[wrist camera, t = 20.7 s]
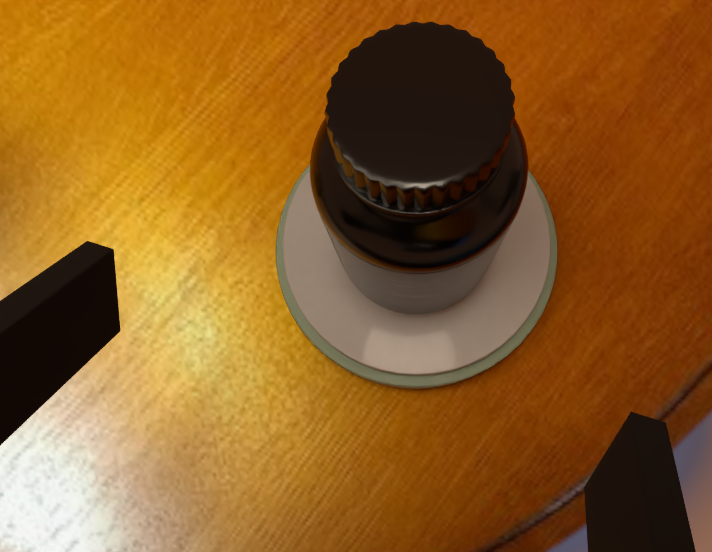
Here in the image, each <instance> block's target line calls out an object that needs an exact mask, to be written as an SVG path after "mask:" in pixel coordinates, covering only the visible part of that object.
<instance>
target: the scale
mask: <svg viewBox="0 0 712 552" xmlns="http://www.w3.org/2000/svg"><path fill="white" fill-rule="evenodd" d="M276 266H277V272H278V278H279V283H280V286H281V290H282V293H283V296H284V299H285V301H286V304H287V306H288V308H289V310H290V312H291V314H292V316H293V318H294V319H295V321H296V322H297V324H298V326H299V327H300V329H301V330H302V331H303V333H304V334H305V335H306V336H307V337H308V339H309V340H310V341H311V342H312V343H313V344H314V345H315V346H316V347H317V348H318V349H319V350H320V351H321V352H322V353H324V354H325V355H326V356H327V357H328V358H330V359H331V360H333V361H334V362H335V363H337V364H338V365H340V366H341V367H343V368H344V369H346V370H347V371H349V372H351V373H353V374H355V375H357V376H359V377H361V378H364V379H366V380H369V381H372V382H375V383H378V384H382V385H387V386H392V387H396V388H409V389H423V388H435V387H440V386H445V385H450V384H454V383H457V382H460V381H462V380H465V379H468V378H471V377H473V376H475V375H477V374H479V373H481V372H483V371H485V370H487V369H489V368H491V367H492V366H494V365H495V364H496V363H498V362H499V361H501V360H502V359H504V358H505V357H507V356H508V355H509V354H510V353H511V352H512V351H513V350H514V349H515V348H517V347H518V346H519V345H520V344H521V343H522V341H523V340H524V339H525V338H526V337H527V335H528V334H529V333H530V332H531V331H532V329H533V328H534V326H535V325H536V323H537V321H538V320H539V318H540V317H541V315H542V313H543V311H544V309H545V307H546V304H547V302H548V300H549V297H550V295H551V291H552V287H553V284H554V280H555V275H556V267H557V237H556V230H555V224H554V221H553V217H552V214H551V210H550V207H549V205H548V203H547V200H546V198H545V196H544V194H543V191H542V190H541V188H540V186H539V185H538V183H537V182H536V180H535V178H534V177H533V175H532V174H531V173H530V172H529V170H528V179H527V185H526V190H525V193H524V197H523V200H522V203H521V206H520V208H519V211H518V213H517V215H516V217H515V219H514V221H513V223H512V225H511V227H510V228H509V230H508V232H507V234H506V236H505V238H504V240H503V242H502V244H501V246H500V247H499V249H498V251H497V253H496V255H495V257H494V259H493V261H492V263H491V265H490V266H489V268H488V270H487V272H486V274H485V275H484V277H483V278H482V280H481V281H480V283H479V284H478V285H477V286H476V288H475V289H474V290H473V291H472V292H471V293H470V294H469V295H467V296H466V297H465V298H464V299H462V300H461V301H459V302H458V303H456V304H454V305H452V306H451V307H448V308H446V309H444V310H441V311H437V312H433V313H428V314H403V313H398V312H394V311H391V310H388V309H385V308H383V307H381V306H379V305H377V304H375V303H374V302H372V301H371V300H369V299H368V298H367V297H365V296H364V295H363V294H362V293H361V292H360V291H359V290H358V289H357V288H356V287H355V285H354V284H353V283H352V282H351V280H350V279H349V277H348V275H347V273H346V271H345V270H344V268H343V266H342V264H341V262H340V259H339V257H338V255H337V253H336V250H335V248H334V246H333V244H332V241H331V239H330V237H329V235H328V233H327V230H326V228H325V226H324V224H323V221H322V219H321V217H320V214H319V212H318V209H317V207H316V204H315V200H314V197H313V193H312V188H311V182H310V165H309V166H308V167H307V168H306V169H305V171H304V172H303V173H302V175H301V176H300V178H299V179H298V180H297V182H296V183H295V185H294V187H293V189H292V191H291V193H290V194H289V196H288V198H287V201H286V203H285V206H284V209H283V211H282V214H281V218H280V222H279V227H278V231H277V241H276Z"/></svg>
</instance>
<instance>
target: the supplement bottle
mask: <svg viewBox="0 0 712 552" xmlns="http://www.w3.org/2000/svg"><path fill="white" fill-rule="evenodd" d="M326 98H327V103H328V104H327V106H326V109H325V116H326V117H325V119H324V121H323V122H322V124H321V126H320V128H319V131H318V133H317V135H316V138H315V141H314V144H313V148H312V153H311V160H310V182H311V188H312V193H313V197H314V200H315V204H316V207H317V209H318V212H319V214H320V217H321V219H322V221H323V224H324V226H325V228H326V230H327V233H328V235H329V237H330V239H331V241H332V244H333V246H334V248H335V250H336V253H337V255H338V257H339V259H340V262H341V264H342V266H343V268H344V270H345V271H346V273H347V275H348V277H349V279H350V280H351V282H352V283H353V284H354V285H355V287H356V288H357V289H358V290H359V291H360V292H361V293H362V294H363V295H364V296H365V297H367V298H368V299H369V300H371V301H372V302H374V303H375V304H377V305H379V306H381V307H383V308H385V309H388V310H391V311H394V312H398V313H403V314H428V313H433V312H437V311H441V310H444V309H446V308H448V307H451V306H452V305H454V304H456V303H458V302H459V301H461V300H462V299H464V298H465V297H466V296H467V295H469V294H470V293H471V292H472V291H473V290H474V289H475V288H476V286H477V285H478V284H479V283H480V281H481V280H482V278H483V277H484V275H485V274H486V272H487V270H488V268H489V266H490V265H491V263H492V261H493V259H494V257H495V255H496V253H497V251H498V249H499V247H500V246H501V244H502V242H503V240H504V238H505V236H506V234H507V232H508V230H509V228H510V227H511V225H512V223H513V221H514V219H515V217H516V215H517V213H518V211H519V208H520V206H521V203H522V200H523V197H524V193H525V190H526V185H527V179H528V156H527V150H526V145H525V141H524V137H523V135H522V132H521V130H520V127H519V125H518V123H517V121H516V119H515V112H514V108H513V105H514V101H515V96H514V93H513V92H512V90H511V79H510V78H509V76H508V75H507V74H506V73H505V67H504V64H503V63H502V62H501V61H499V60H498V59H497V58H496V55H495V52H494V51H493V50H492V49H490V48H488V47H486V46H485V45H484V43H483V41H482V40H481V39H479V38H476V37H472V36H471V35H470V34H469V33H468V32H467V31H466V30H458V29H455V28H454V27H453V26H451V25H439V24H436V23H434V22H427V23H423V24H422V23H418V22H411V23H409V24H406V25H395V26H393V27H391V28H390V29H387V30H379V31H378V32H377V33H376V34H375V35H374V36H372V37H369V38H366V39H364V40H363V41H362V42H361V44H360V45H359V46H358V47H356V48H354V49H352V50H350V52H349V54H348V57H347V58H346V59H344V60H343V61H342V62H341V63H340V64H339V67H338V71H337V72H336V73H335V74H334V76H333V77H332V78H331V87H330V89H329V91H328V92H327V95H326Z"/></svg>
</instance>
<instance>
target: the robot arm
mask: <svg viewBox="0 0 712 552" xmlns="http://www.w3.org/2000/svg"><path fill="white" fill-rule="evenodd" d="M119 332H120V321H119V309H118V297H117V285H116V273H115V261H114V250H113V249H111V248H108V247H105V246H102V245H98V244H95V243H92V242H89V241H87V242H85V243H84V244H82V245H81V246H79V247H78V248H76V249H75V250H74V251H72V252H71V253H69V254H68V255H66V256H65V257H63V258H62V259H60V260H59V261H58V262H56V263H55V264H53V265H52V266H50V267H49V268H47V269H46V270H45V271H43V272H42V273H40V274H39V275H37V276H36V277H34V278H33V279H31V280H30V281H29V282H27V283H26V284H24V285H23V286H21V287H20V288H18V289H17V290H16V291H14V292H13V293H11V294H10V295H8V296H7V297H5V298H4V299H2V300H1V301H0V445H1V444H2V443H3V442H4V441H5V440H6V439H7V438H8V437H9V436H10V435H12V434H13V433H14V432H15V431H16V430H17V429H18V428H19V427H20V426H21V425H22V424H23V423H24V422H25V421H26V420H27V419H28V418H29V417H30V416H31V415H33V414H34V413H35V412H36V411H37V410H38V409H39V408H40V407H41V406H42V405H43V404H44V403H45V402H46V401H47V400H48V399H49V398H50V397H51V396H52V395H54V394H55V393H56V392H57V391H58V390H59V389H60V388H61V387H62V386H63V385H64V384H65V383H66V382H67V381H68V380H69V379H70V378H71V377H72V376H74V375H75V374H76V373H77V372H78V371H79V370H80V369H81V368H82V367H83V366H84V365H85V364H86V363H87V362H88V361H89V360H90V359H91V358H92V357H93V356H95V355H96V354H97V353H98V352H99V351H100V350H101V349H102V348H103V347H104V346H105V345H106V344H107V343H108V342H109V341H110V340H111V339H112V338H113V337H115V336H116V335H117V334H118V333H119ZM584 489H585V506H586V523H587V539H588V552H695V548H694V543H693V539H692V534H691V530H690V525H689V521H688V517H687V513H686V508H685V504H684V499H683V495H682V491H681V486H680V482H679V478H678V473H677V469H676V465H675V460H674V456H673V452H672V447H671V443H670V439H669V434H668V430H667V426H666V423H665V422H662V421H658V420H655V419H652V418H649V417H646V416H642V415H639V414H636V413H633V412H631V413H630V414H629V416H628V418H627V419H626V421H625V422H624V424H623V426H622V427H621V429H620V430H619V432H618V434H617V435H616V437H615V439H614V440H613V442H612V443H611V445H610V447H609V448H608V450H607V451H606V453H605V455H604V456H603V458H602V459H601V461H600V463H599V464H598V466H597V468H596V469H595V471H594V472H593V474H592V476H591V477H590V479H589V480H588V482H587V484H586V485H585V487H584Z"/></svg>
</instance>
